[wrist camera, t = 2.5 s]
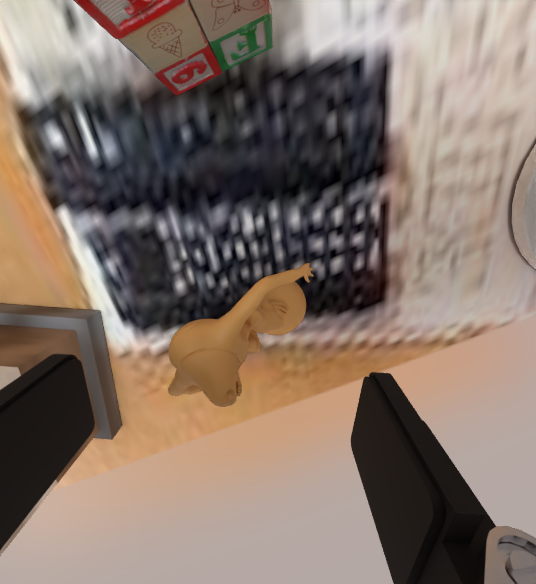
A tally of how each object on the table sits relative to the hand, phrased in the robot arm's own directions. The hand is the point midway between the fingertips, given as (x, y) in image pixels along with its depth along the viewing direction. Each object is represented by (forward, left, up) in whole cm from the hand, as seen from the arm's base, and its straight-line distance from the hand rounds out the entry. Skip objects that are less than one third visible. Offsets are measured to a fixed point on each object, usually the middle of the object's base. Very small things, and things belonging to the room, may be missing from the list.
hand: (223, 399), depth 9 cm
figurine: (-1, 0, -11) cm, 11 cm away
